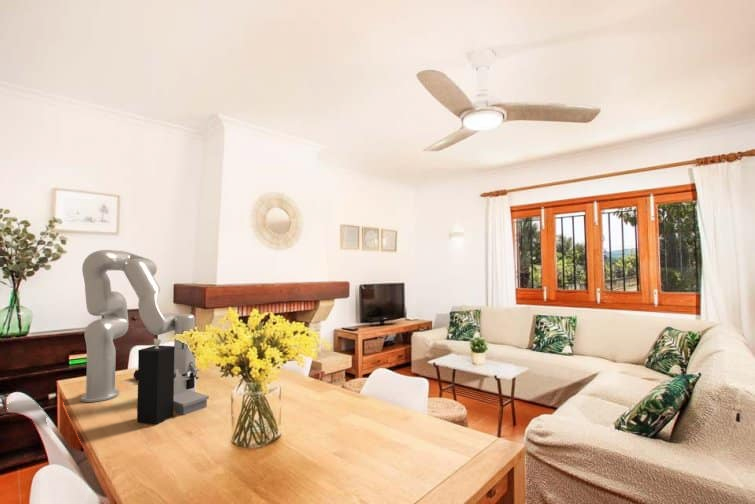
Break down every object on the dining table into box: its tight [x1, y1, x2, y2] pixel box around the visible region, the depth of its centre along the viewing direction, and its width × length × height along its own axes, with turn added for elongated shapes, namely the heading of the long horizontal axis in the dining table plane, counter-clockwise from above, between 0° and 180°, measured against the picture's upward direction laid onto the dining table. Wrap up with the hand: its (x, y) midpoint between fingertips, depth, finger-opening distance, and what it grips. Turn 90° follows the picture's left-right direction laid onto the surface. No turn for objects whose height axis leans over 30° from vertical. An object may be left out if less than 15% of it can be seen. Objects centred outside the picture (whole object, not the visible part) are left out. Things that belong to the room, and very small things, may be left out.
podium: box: [173, 390, 210, 416], centre depth 141 cm, size 12×10×4 cm
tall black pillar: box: [136, 338, 175, 425], centre depth 130 cm, size 8×8×28 cm
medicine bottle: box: [174, 369, 197, 395], centre depth 154 cm, size 7×7×12 cm
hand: (183, 386), depth 154 cm, fingers open, 8 cm apart
